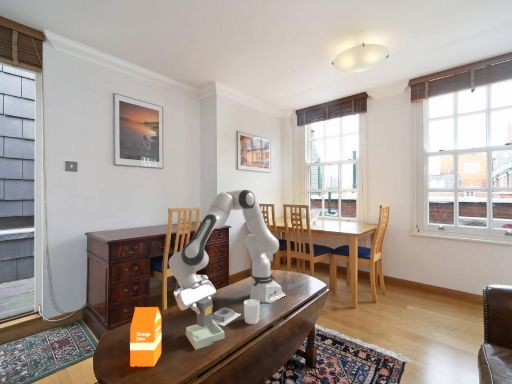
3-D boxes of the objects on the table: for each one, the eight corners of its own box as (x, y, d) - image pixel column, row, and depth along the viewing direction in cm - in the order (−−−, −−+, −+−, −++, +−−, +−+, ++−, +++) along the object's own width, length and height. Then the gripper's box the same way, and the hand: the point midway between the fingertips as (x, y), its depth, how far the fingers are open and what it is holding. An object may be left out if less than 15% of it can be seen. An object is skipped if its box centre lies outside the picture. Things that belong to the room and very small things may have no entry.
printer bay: (223, 310, 140) (223, 304, 140) (241, 316, 133) (241, 309, 133) (205, 321, 128) (205, 314, 128) (224, 328, 121) (224, 320, 121)
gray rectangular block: (205, 319, 116) (205, 297, 117) (212, 322, 114) (212, 299, 114) (196, 324, 112) (196, 301, 112) (203, 327, 110) (203, 303, 110)
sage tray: (212, 327, 122) (212, 319, 122) (224, 340, 111) (224, 332, 111) (185, 335, 115) (185, 327, 115) (195, 349, 104) (195, 341, 104)
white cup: (240, 322, 127) (240, 301, 127) (252, 317, 132) (252, 297, 132) (250, 328, 121) (250, 307, 121) (262, 323, 126) (262, 302, 126)
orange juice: (154, 366, 94) (154, 311, 94) (129, 366, 94) (130, 311, 94) (161, 353, 102) (161, 302, 102) (139, 353, 102) (139, 303, 102)
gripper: (175, 286, 108) (191, 315, 103) (209, 274, 126) (224, 298, 120) (168, 295, 111) (183, 324, 105) (202, 282, 128) (217, 306, 122)
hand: (205, 310), depth 113 cm, fingers closed on gray rectangular block, 5 cm apart
